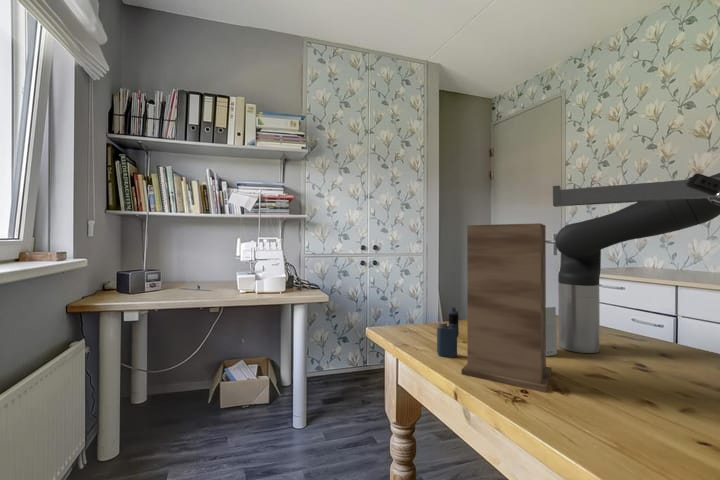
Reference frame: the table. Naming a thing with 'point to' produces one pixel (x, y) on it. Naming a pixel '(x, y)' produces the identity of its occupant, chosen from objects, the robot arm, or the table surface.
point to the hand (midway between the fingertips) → (688, 180)
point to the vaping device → (448, 336)
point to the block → (628, 193)
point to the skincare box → (551, 331)
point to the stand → (507, 304)
